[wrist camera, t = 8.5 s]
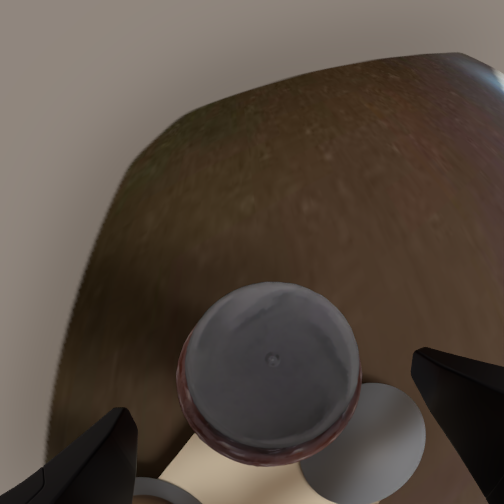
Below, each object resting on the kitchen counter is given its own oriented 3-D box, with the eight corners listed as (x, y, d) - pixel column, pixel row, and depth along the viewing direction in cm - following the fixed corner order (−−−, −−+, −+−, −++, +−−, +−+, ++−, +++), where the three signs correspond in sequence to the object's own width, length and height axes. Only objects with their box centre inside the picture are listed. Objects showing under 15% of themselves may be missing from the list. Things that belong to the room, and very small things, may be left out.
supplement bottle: (193, 401, 16) (93, 371, 6) (255, 326, 18) (245, 204, 8) (277, 462, 14) (299, 532, 4) (337, 380, 16) (435, 320, 6)
